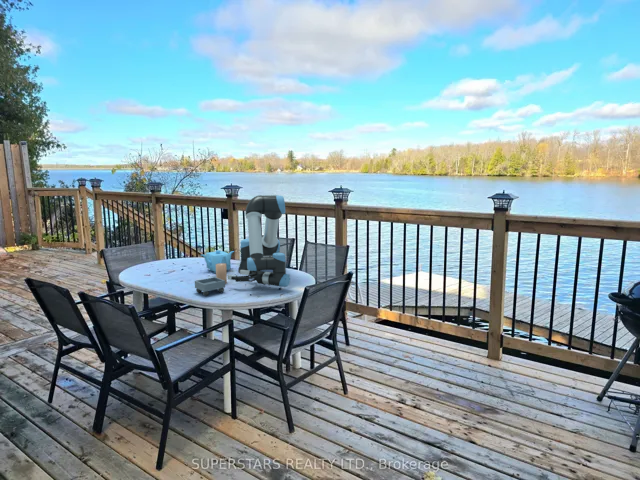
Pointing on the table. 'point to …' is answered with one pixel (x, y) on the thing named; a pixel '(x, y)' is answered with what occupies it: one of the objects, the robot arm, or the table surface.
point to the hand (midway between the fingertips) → (234, 274)
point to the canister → (221, 271)
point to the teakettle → (217, 259)
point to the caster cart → (209, 285)
